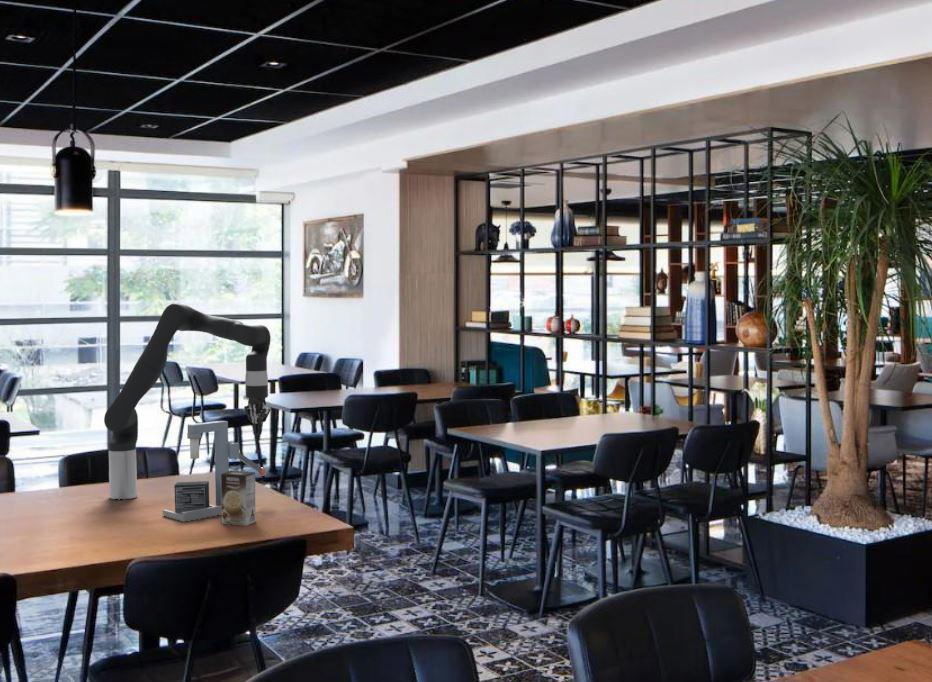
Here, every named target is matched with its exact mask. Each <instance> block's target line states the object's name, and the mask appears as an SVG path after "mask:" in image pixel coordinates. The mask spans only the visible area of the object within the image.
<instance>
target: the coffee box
mask: <svg viewBox="0 0 932 682" xmlns="http://www.w3.org/2000/svg"><path fill="white" fill-rule="evenodd" d="M221 490H222V515H221V524H222V525H223V524H224V525H231V524H232V525H231V526H233V525H234V526H245V527H246V526H249V525H251V524H253V523H256V521H257V520H256V519H257V518H256V516H257V513H256V471H243V470H232V469H231V470H229V471H228V472H225V473H223V474H221Z"/></svg>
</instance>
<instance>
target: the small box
mask: <svg viewBox="0 0 932 682" xmlns="http://www.w3.org/2000/svg"><path fill="white" fill-rule="evenodd" d="M209 482H210V481H209V480H207V481H206V480H205V481H204V480H202V481H181V482H180V481H179V482H176V483H175V484H174V485H173V486H174V487H173V488H174V512H176V513H179V514H182V512H186V511H192V510H197V509H203V508H209V504H210V483H209Z"/></svg>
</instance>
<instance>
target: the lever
mask: <svg viewBox="0 0 932 682" xmlns="http://www.w3.org/2000/svg"><path fill="white" fill-rule="evenodd" d="M228 454H229V446H228ZM237 459H238V460H239V461H241V462H243V463H244V464H245V465H246V466H248V467H249V468H251V469H252V470H254V472H257V474H258V475H259V477H263V476H265V475H267V469H266V468H265V467H261V466H260V465H258V464H257V463H255V461H252V460H251V459H249V458H248V457H247V456H246V455H244V454H243V453H241V452H240V451H239V458H237Z"/></svg>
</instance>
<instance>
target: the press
mask: <svg viewBox="0 0 932 682" xmlns="http://www.w3.org/2000/svg"><path fill="white" fill-rule="evenodd" d="M211 432H213V433H214V435H213V436H214V464H215V465H214V473H215V476H214V477H215V505H213V504H210V503H209V508H203V509H197V510H192V511H186V512H182V514H179V513H176V512H175V511H172V510H169V509H162V516H163V515H164V516H167V517H166V518H168V517H170V518H169V519H171V518H173V519H172V520H174V519H177V520H176V521H178V520H180V521H179V522H181V521H183V522H182V523H186V522H185V521H188V522H192V521H191V520H193V521H197V520H196V519H198V520H202V519H201V518H204V519H207V518H206V517H209V518H212V517H211V516H214V517H218V516H217V515H220V516H222V490H221V474H223V473H225V472H228V471H230V468H229V467H230V463H229V461H230V460H231V459H232V460H233V459H238V458H239V452H240V443H239V442H232V441H229V421H227V420H218V421H216V420H215V421H208V422H199V423H190V424H187V433H186V435H187V436H186V437H187V439H188V440H189V454H190V456H189V458H190V460H195V459H200V439H201V438H202V434H203V433H211ZM228 446H229V454H228ZM164 516H163V517H164Z"/></svg>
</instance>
